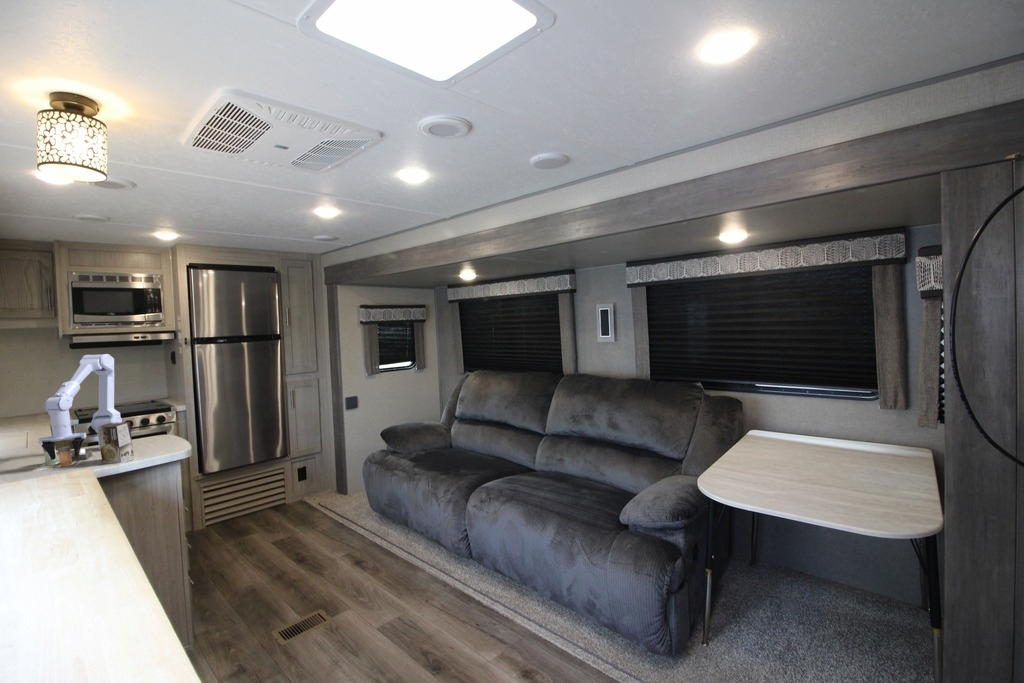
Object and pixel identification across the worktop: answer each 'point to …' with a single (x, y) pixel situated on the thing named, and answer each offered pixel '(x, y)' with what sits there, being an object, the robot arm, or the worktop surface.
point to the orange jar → (65, 456)
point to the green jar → (48, 459)
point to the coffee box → (115, 442)
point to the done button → (82, 451)
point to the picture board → (75, 461)
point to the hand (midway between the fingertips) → (65, 457)
